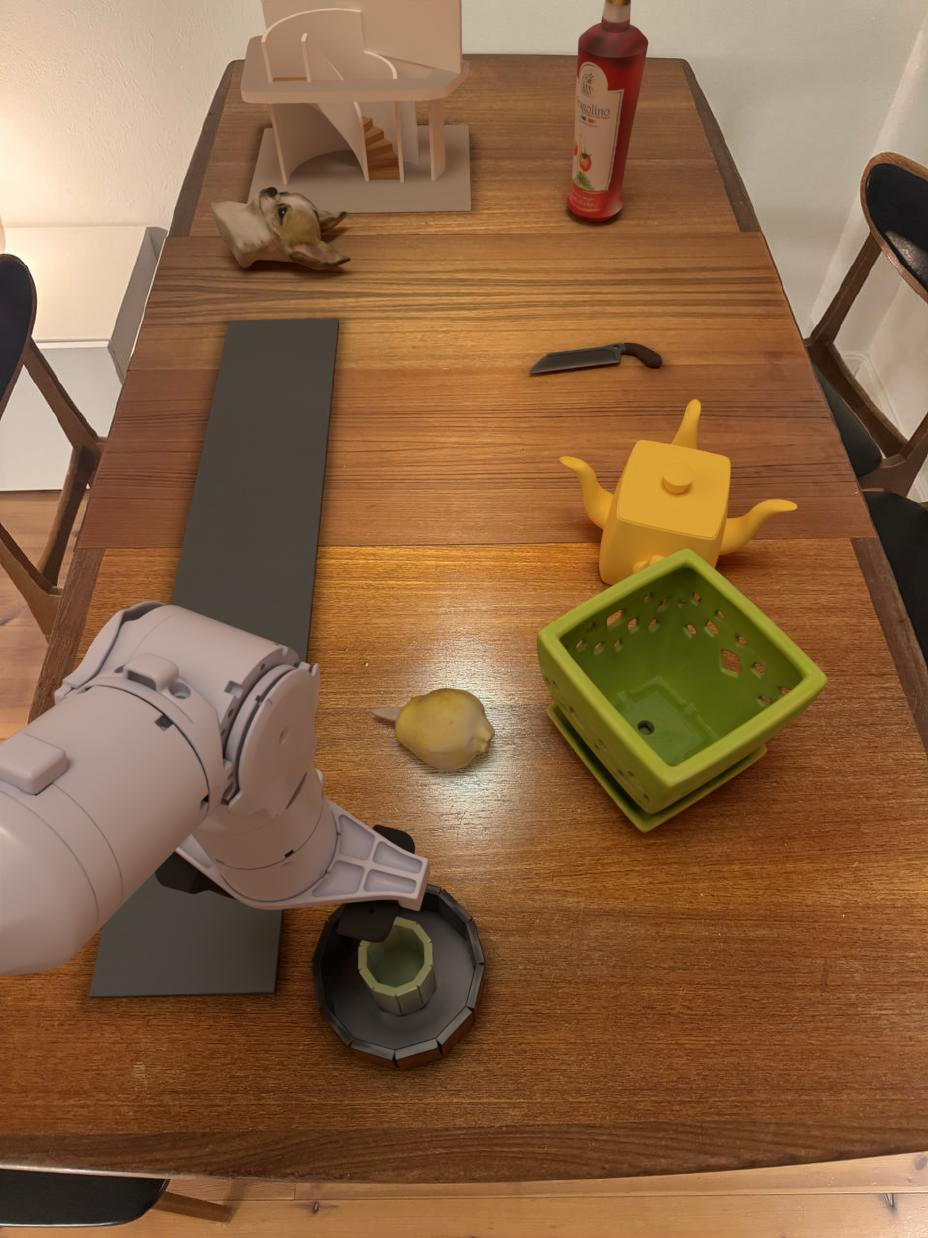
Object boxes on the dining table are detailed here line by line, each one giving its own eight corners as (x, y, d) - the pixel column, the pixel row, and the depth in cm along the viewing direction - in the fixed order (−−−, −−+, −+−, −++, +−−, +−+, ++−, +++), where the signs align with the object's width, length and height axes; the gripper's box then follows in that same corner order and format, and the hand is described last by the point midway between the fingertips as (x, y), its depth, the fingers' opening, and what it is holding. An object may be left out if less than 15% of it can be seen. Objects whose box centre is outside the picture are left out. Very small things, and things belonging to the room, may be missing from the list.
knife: (651, 342, 93) (652, 337, 92) (663, 367, 91) (664, 361, 90) (523, 358, 92) (523, 353, 91) (531, 384, 89) (531, 378, 89)
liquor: (551, 214, 107) (572, -63, 84) (586, 188, 110) (616, -84, 87) (600, 235, 104) (635, -44, 81) (635, 209, 107) (678, -67, 84)
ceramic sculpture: (209, 162, 98) (344, 161, 99) (223, 234, 105) (348, 231, 107) (204, 216, 92) (347, 214, 94) (219, 288, 99) (352, 285, 101)
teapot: (637, 642, 72) (657, 569, 64) (546, 527, 79) (554, 449, 71) (775, 572, 76) (811, 496, 68) (677, 469, 83) (698, 389, 75)
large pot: (458, 1090, 53) (457, 1080, 50) (299, 1042, 55) (286, 1029, 51) (499, 922, 59) (500, 902, 55) (354, 883, 61) (345, 861, 57)
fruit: (388, 686, 70) (509, 705, 67) (371, 760, 68) (494, 782, 65) (365, 666, 64) (495, 685, 62) (345, 745, 63) (479, 769, 60)
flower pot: (781, 767, 65) (839, 680, 55) (635, 867, 61) (668, 794, 51) (659, 636, 72) (690, 537, 62) (520, 718, 68) (528, 627, 57)
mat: (275, 993, 57) (274, 992, 56) (90, 998, 57) (88, 996, 56) (339, 322, 96) (338, 318, 95) (229, 324, 96) (228, 320, 95)
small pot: (426, 1024, 55) (421, 1004, 50) (358, 1004, 56) (346, 983, 51) (445, 953, 58) (442, 928, 53) (379, 935, 58) (370, 909, 53)
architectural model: (244, 214, 108) (193, -5, 88) (264, 127, 120) (223, -82, 100) (471, 210, 108) (469, -10, 88) (468, 124, 120) (467, -87, 100)
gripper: (442, 761, 39) (450, 862, 50) (146, 691, 41) (217, 803, 52) (396, 916, 35) (416, 989, 46) (72, 830, 37) (165, 919, 49)
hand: (307, 899), depth 49 cm, fingers open, 7 cm apart
